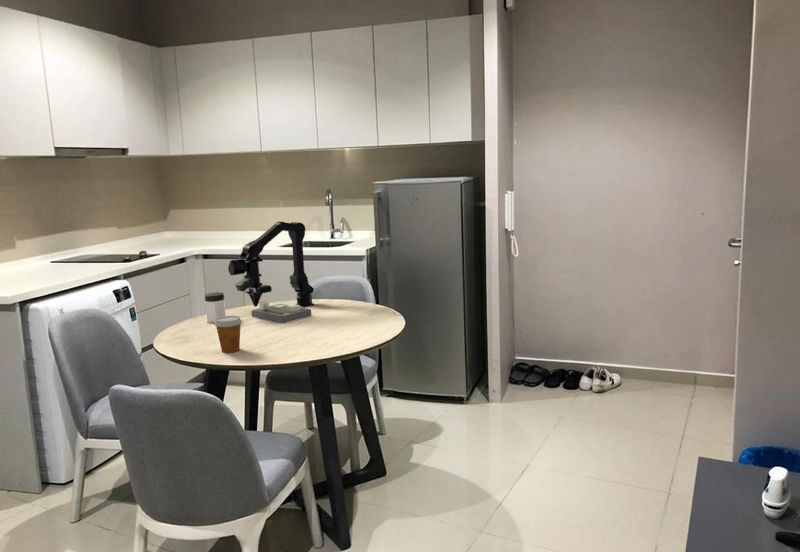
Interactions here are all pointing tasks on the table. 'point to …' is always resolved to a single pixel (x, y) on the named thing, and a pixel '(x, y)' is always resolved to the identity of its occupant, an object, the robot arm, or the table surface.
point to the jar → (214, 306)
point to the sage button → (279, 306)
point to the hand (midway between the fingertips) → (255, 306)
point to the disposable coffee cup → (229, 333)
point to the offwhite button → (293, 308)
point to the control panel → (281, 314)
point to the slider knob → (264, 305)
